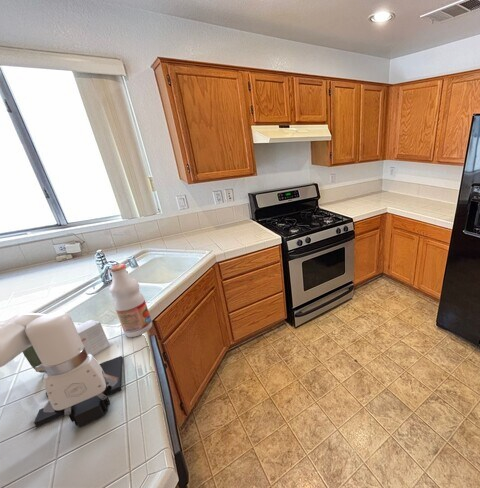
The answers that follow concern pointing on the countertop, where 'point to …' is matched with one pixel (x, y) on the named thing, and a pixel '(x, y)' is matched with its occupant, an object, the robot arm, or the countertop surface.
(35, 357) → the vegetable
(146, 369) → the countertop surface
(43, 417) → the base pad
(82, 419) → the pad piece
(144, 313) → the fruit juice
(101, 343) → the small box
